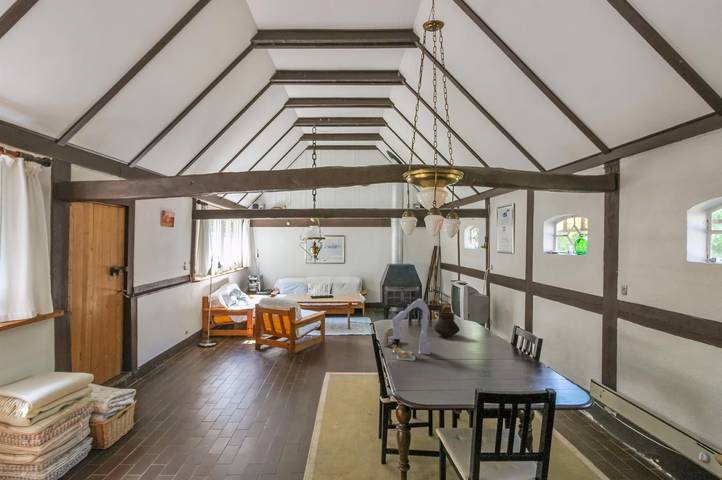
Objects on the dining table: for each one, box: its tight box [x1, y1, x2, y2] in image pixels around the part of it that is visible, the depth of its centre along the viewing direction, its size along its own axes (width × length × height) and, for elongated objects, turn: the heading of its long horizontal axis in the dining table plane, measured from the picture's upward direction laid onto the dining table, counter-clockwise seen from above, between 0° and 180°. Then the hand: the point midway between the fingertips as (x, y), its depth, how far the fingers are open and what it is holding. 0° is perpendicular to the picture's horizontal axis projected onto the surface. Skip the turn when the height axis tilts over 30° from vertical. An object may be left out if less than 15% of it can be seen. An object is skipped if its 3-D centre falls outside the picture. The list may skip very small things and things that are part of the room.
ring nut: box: [392, 344, 401, 352], centre depth 306 cm, size 8×6×3 cm
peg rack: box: [396, 354, 416, 362], centre depth 289 cm, size 14×8×4 cm, turn 82°
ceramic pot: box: [433, 311, 461, 338], centre depth 360 cm, size 24×24×22 cm
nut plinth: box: [390, 348, 403, 355], centre depth 305 cm, size 9×9×1 cm
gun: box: [382, 326, 402, 348], centre depth 332 cm, size 24×3×15 cm, turn 143°
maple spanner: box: [397, 350, 413, 358], centre depth 289 cm, size 11×4×4 cm, turn 82°
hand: (396, 348), depth 309 cm, fingers closed, pressing on ring nut
